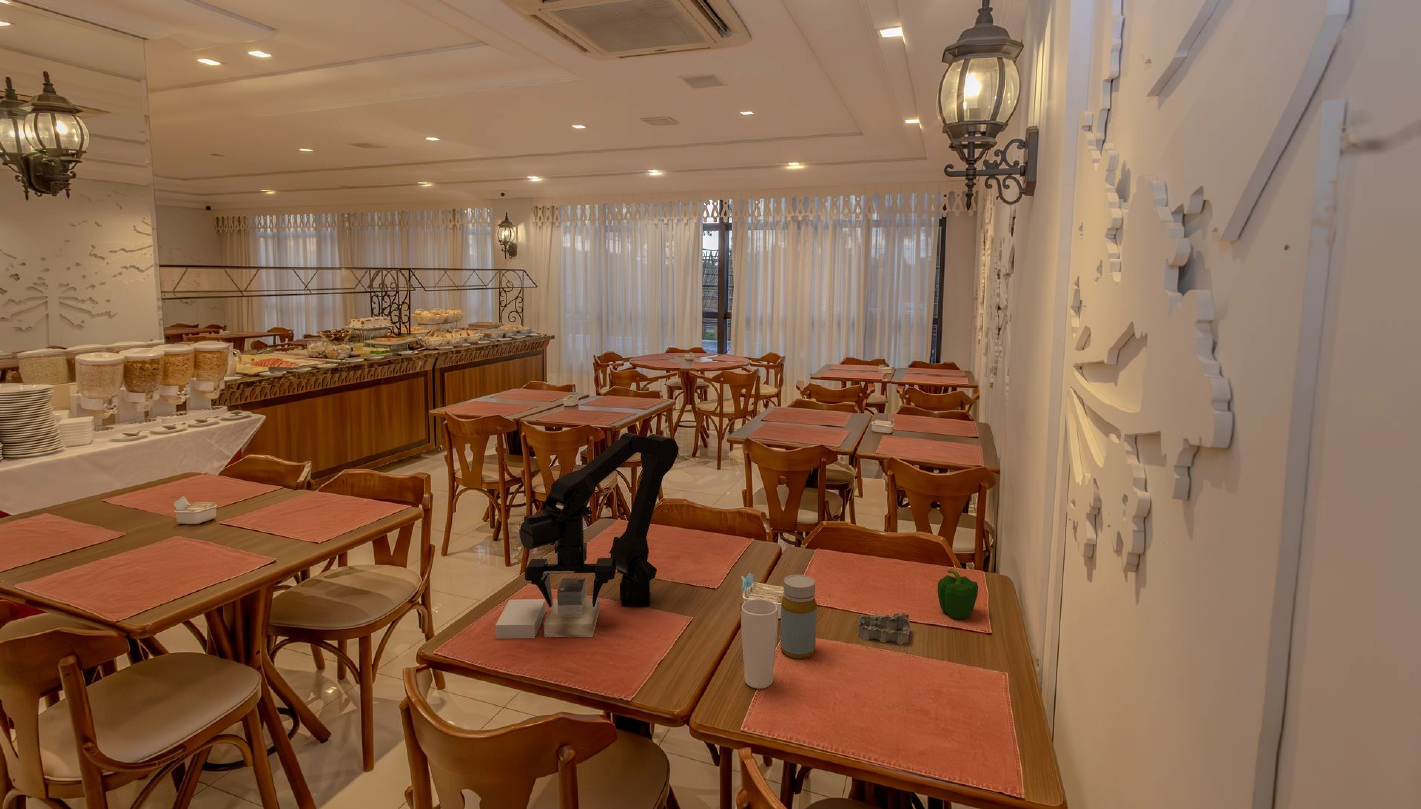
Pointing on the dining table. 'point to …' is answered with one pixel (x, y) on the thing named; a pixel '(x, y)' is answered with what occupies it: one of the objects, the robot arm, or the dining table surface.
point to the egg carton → (884, 621)
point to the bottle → (798, 617)
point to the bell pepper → (957, 595)
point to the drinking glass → (759, 641)
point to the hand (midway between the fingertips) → (572, 606)
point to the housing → (571, 598)
